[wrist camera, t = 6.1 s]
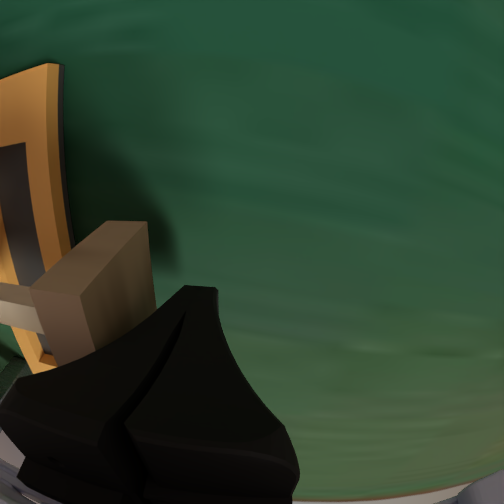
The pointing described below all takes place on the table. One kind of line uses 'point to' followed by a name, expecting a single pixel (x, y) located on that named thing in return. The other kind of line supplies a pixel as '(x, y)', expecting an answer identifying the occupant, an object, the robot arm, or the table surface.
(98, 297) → the sled
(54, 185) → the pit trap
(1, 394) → the tunnel
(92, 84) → the table surface
